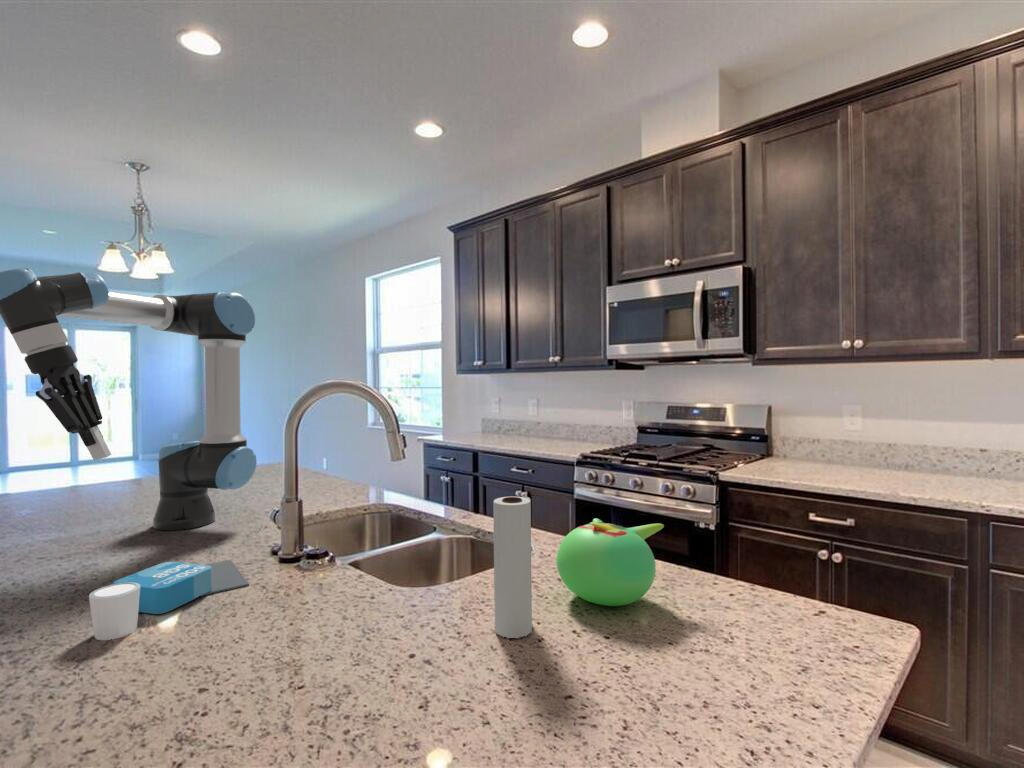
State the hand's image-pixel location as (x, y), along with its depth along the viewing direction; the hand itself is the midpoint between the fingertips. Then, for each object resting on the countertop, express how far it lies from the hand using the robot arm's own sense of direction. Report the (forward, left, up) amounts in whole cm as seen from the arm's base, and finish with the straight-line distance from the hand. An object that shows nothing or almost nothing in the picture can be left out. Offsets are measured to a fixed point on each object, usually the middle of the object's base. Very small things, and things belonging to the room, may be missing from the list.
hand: (102, 457), depth 112 cm
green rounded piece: (-27, +99, -25) cm, 105 cm away
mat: (-6, +19, -25) cm, 32 cm away
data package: (+4, +16, -23) cm, 28 cm away
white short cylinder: (+14, +27, -25) cm, 40 cm away
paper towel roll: (-10, +88, -25) cm, 92 cm away
